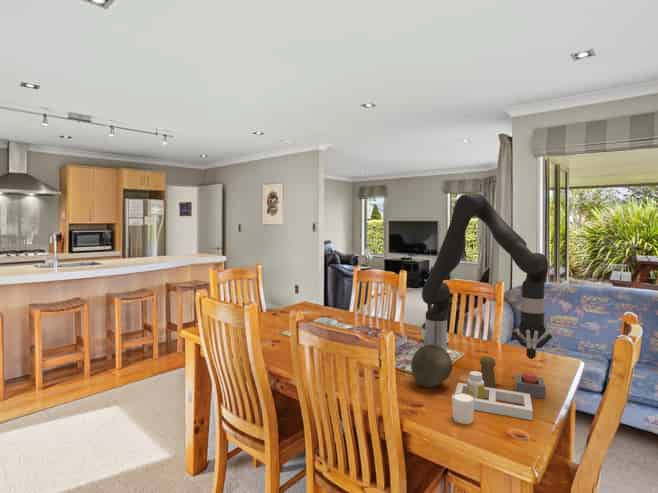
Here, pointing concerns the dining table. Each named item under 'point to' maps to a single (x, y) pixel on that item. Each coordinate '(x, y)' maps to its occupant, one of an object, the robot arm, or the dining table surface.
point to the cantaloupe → (431, 365)
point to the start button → (530, 378)
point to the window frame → (502, 408)
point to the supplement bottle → (475, 385)
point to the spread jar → (424, 333)
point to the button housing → (530, 387)
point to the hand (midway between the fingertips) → (530, 358)
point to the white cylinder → (463, 407)
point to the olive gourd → (488, 371)
